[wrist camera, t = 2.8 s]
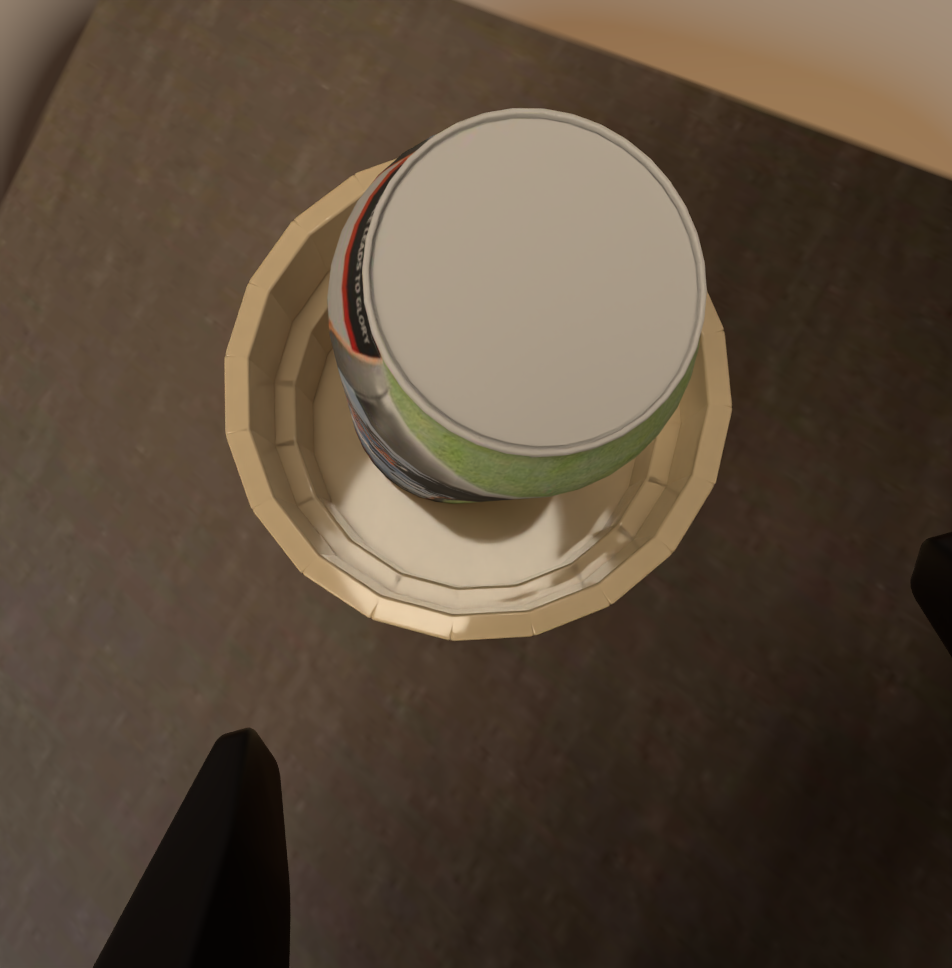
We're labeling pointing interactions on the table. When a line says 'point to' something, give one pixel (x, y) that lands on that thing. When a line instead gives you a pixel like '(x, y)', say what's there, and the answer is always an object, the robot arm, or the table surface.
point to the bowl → (428, 524)
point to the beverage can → (515, 308)
